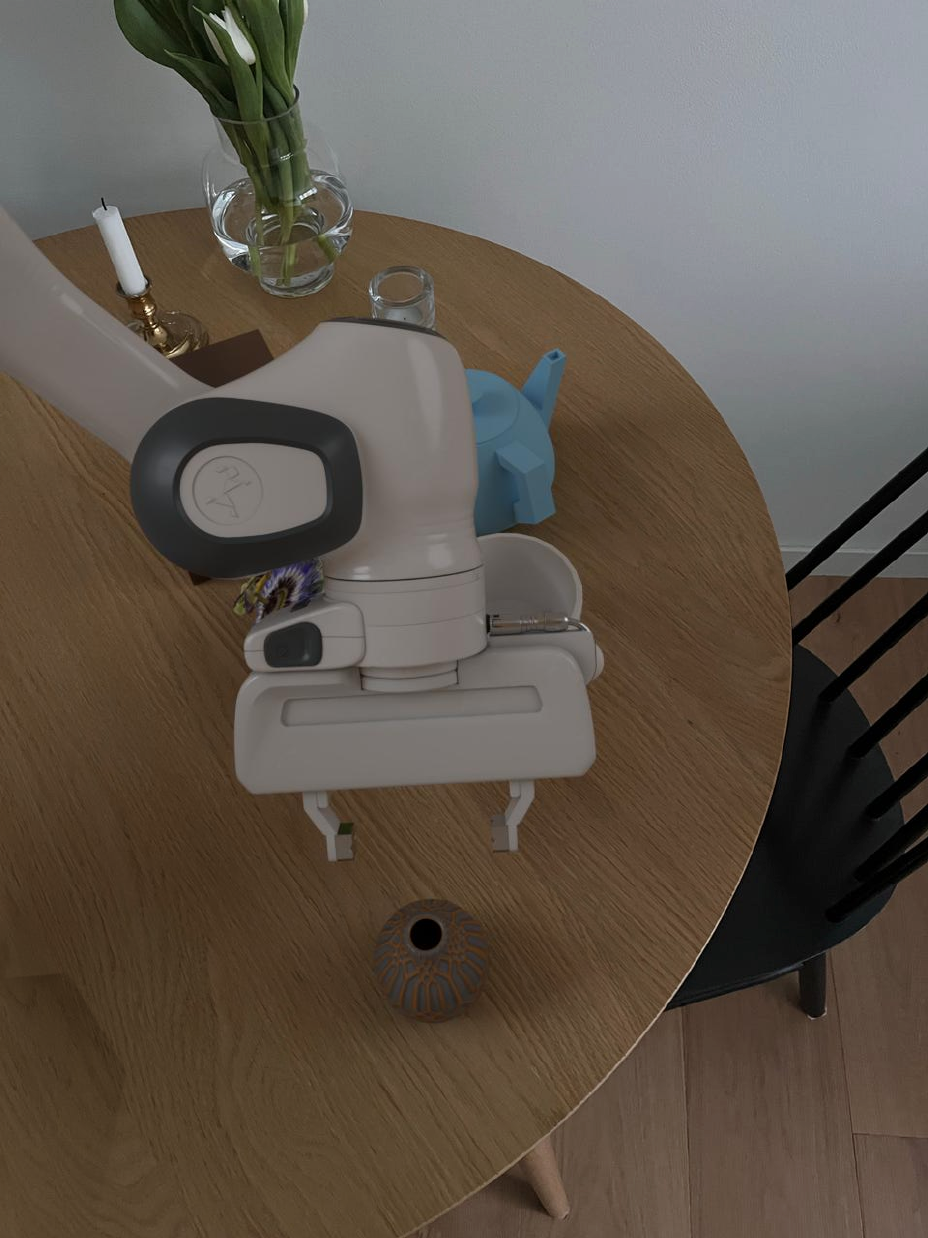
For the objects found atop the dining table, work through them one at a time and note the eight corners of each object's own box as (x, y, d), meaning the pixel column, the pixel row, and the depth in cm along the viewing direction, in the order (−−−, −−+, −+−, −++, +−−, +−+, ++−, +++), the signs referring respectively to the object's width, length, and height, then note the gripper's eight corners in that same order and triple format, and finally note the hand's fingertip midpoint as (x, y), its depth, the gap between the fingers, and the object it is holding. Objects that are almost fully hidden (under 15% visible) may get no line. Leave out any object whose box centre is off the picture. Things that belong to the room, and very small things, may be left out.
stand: (193, 586, 84) (150, 486, 74) (153, 483, 90) (108, 378, 80) (335, 532, 86) (311, 428, 76) (286, 435, 93) (258, 328, 83)
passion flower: (288, 687, 85) (242, 548, 80) (419, 662, 83) (379, 518, 79) (253, 758, 74) (198, 601, 70) (402, 730, 73) (355, 568, 68)
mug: (407, 663, 79) (397, 602, 72) (496, 574, 83) (494, 508, 77) (550, 766, 74) (554, 710, 67) (637, 665, 78) (649, 603, 71)
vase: (384, 921, 68) (369, 872, 61) (491, 923, 68) (488, 874, 61) (376, 1033, 64) (358, 996, 57) (489, 1036, 64) (486, 999, 57)
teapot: (363, 551, 85) (345, 460, 76) (389, 415, 93) (375, 318, 84) (554, 561, 84) (558, 469, 75) (563, 422, 92) (568, 325, 83)
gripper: (588, 599, 62) (596, 822, 64) (238, 619, 62) (261, 841, 65) (601, 620, 56) (610, 866, 58) (213, 642, 56) (239, 887, 58)
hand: (423, 853), depth 61 cm, fingers open, 8 cm apart
